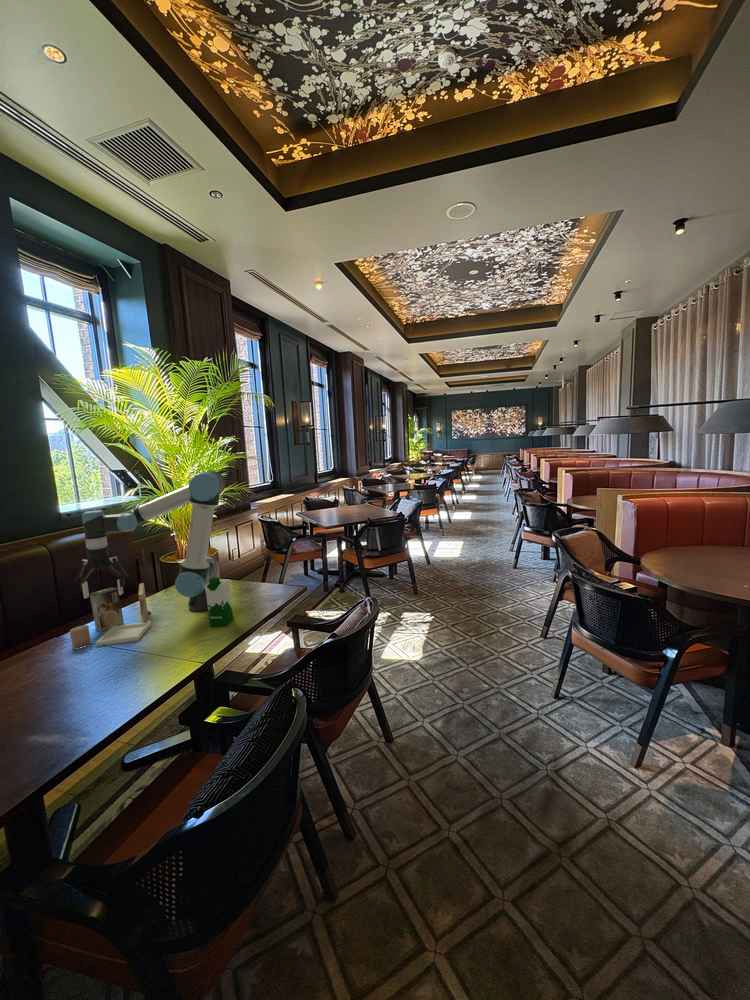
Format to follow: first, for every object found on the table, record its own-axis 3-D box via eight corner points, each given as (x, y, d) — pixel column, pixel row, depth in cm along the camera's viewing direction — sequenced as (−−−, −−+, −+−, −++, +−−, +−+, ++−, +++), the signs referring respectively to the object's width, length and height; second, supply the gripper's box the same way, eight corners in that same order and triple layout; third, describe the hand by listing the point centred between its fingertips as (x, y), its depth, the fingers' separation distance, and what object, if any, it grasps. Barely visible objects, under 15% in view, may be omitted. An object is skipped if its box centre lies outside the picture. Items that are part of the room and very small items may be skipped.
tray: (151, 625, 179) (150, 621, 179) (137, 641, 164) (137, 636, 164) (113, 630, 177) (112, 626, 176) (96, 646, 162) (95, 642, 162)
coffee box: (118, 621, 186) (112, 586, 184) (124, 624, 183) (119, 588, 180) (95, 629, 179) (89, 593, 177) (100, 632, 175) (95, 595, 173)
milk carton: (206, 628, 172) (201, 581, 169) (217, 619, 181) (211, 574, 178) (227, 627, 171) (221, 580, 168) (236, 618, 180) (231, 573, 177)
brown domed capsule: (94, 641, 167) (91, 624, 166) (86, 648, 161) (83, 630, 160) (77, 643, 166) (74, 626, 165) (69, 650, 160) (66, 632, 159)
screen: (150, 611, 196) (146, 582, 194) (150, 624, 180) (145, 593, 178) (140, 613, 194) (136, 584, 192) (139, 627, 178) (135, 595, 176)
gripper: (132, 542, 182) (138, 589, 185) (69, 548, 178) (76, 595, 181) (125, 546, 175) (132, 595, 177) (59, 552, 171) (67, 602, 173)
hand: (104, 595), depth 179 cm, fingers open, 13 cm apart
